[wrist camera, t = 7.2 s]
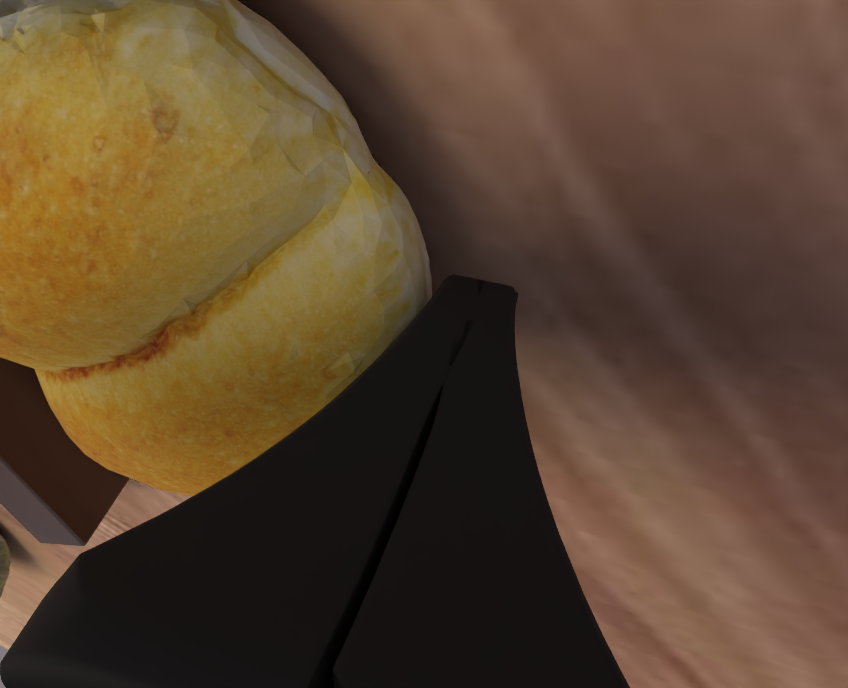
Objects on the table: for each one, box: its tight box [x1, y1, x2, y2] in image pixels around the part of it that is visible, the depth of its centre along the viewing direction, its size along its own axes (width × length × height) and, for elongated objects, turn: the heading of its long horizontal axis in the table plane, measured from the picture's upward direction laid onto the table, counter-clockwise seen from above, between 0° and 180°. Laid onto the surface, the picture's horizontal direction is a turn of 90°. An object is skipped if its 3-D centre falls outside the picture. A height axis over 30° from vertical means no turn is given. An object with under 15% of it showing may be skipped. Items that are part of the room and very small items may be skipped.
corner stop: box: [0, 357, 129, 546], centre depth 13 cm, size 14×14×2 cm
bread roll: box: [0, 0, 432, 496], centre depth 12 cm, size 8×9×4 cm
